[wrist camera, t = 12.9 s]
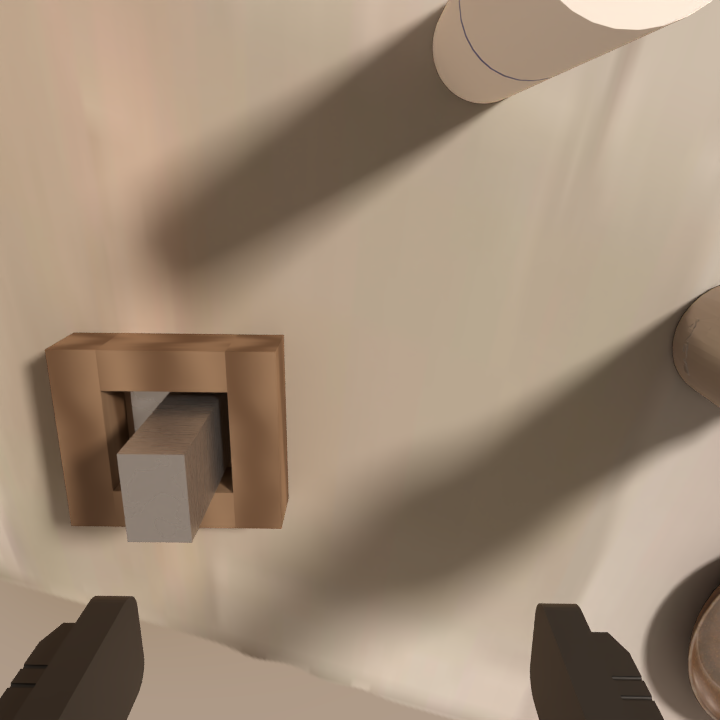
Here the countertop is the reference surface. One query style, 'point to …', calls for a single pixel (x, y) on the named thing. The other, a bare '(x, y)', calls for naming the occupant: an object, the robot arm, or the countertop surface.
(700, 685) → the plant saucer
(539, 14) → the cylindrical container
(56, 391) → the well block
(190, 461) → the grey block
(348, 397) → the countertop surface
